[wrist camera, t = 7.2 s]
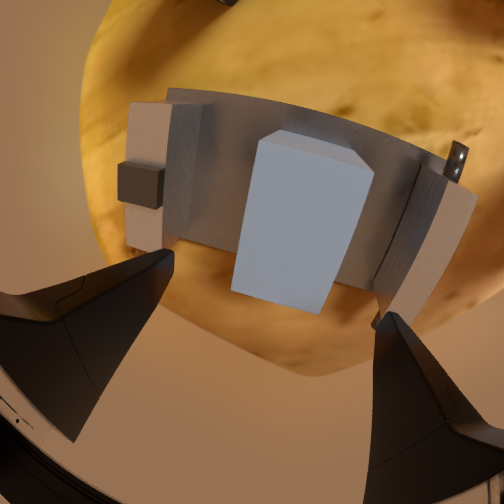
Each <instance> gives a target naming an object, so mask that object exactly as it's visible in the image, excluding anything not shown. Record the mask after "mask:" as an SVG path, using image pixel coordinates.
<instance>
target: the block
mask: <svg viewBox="0 0 504 504" xmlns="http://www.w3.org/2000/svg"><path fill="white" fill-rule="evenodd" d="M373 176H374V172H373V171H372V170H371V169H370V167H369V166H368V165H367V164H366V163H365V162H364V161H363V160H362V159H361V158H360V157H359V156H358V154H357V153H356V152H355V151H354V150H351V149H348V148H345V147H342V146H339V145H335V144H332V143H329V142H325V141H322V140H318V139H315V138H311V137H307V136H303V135H300V134H296V133H292V132H287V131H283V130H278V131H276V132H274V133H272V134H270V135H268V136H266V137H264V138H262V139H261V140H259V142H258V147H257V152H256V157H255V162H254V167H253V172H252V178H251V183H250V188H249V193H248V198H247V203H246V209H245V214H244V219H243V224H242V230H241V235H240V240H239V246H238V251H237V257H236V262H235V268H234V273H233V279H232V284H231V290H232V291H235V292H239V293H242V294H245V295H249V296H252V297H256V298H259V299H263V300H266V301H270V302H273V303H277V304H280V305H284V306H288V307H291V308H295V309H299V310H303V311H306V312H310V313H314V314H318V315H319V313H320V311H321V309H322V307H323V305H324V302H325V300H326V298H327V296H328V294H329V291H330V289H331V287H332V284H333V282H334V280H335V278H336V275H337V273H338V271H339V268H340V266H341V263H342V261H343V258H344V256H345V254H346V251H347V249H348V246H349V244H350V241H351V238H352V236H353V233H354V231H355V228H356V225H357V223H358V220H359V217H360V214H361V212H362V209H363V206H364V203H365V200H366V197H367V195H368V192H369V189H370V186H371V183H372V180H373Z"/></svg>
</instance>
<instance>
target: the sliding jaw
mask: <svg viewBox="0 0 504 504" xmlns="http://www.w3.org/2000/svg"><path fill="white" fill-rule="evenodd" d="M468 151H469V148H468V147H467V146H465V145H463V144H461V143H459V142H457V141H454V140H453V142H452V145H451V149H450V152H449V155H448V158H447V162H446V165H445V168H444V171H443V173H441V172H439V171H437V170H435V169H432V168H430V167H428V166H426V165H424V164H422V166H421V169H420V172H419V175H418V178H417V180H416V183H415V186H414V189H413V192H412V194H411V197H410V200H409V202H408V205H407V207H406V210H405V212H404V215H403V217H402V220H401V222H400V225H399V227H398V229H397V232H396V234H395V236H394V239H393V241H392V243H391V245H390V248H389V250H388V252H387V254H386V256H385V258H384V261H383V263H382V265H381V267H380V269H379V271H378V273H377V275H376V277H375V279H374V281H373V284H374V288H375V293H376V297H377V301H378V306H379V311H378V313H377V314H376V316H375V318H374V319H373V321H372V322H371V326H372V328H373V329H374V330H376V328H377V326H378V324H379V323H380V321H381V320H382V318H383V316H384V315H385V313H386V312H387V311H392V312H396V313H398V314H399V315H400V316H401V318H402V319H403V320H404V321H405V322H406V323H407V325H408V326H410V325H411V324H412V322H413V321H414V320H415V318H416V317H417V315H418V314H419V312H420V311H421V309H422V308H423V306H424V304H425V303H426V301H427V300H428V298H429V296H430V295H431V293H432V292H433V290H434V288H435V287H436V285H437V283H438V281H439V280H440V278H441V276H442V274H443V273H444V271H445V269H446V267H447V265H448V264H449V262H450V260H451V258H452V256H453V254H454V252H455V250H456V248H457V246H458V244H459V242H460V240H461V238H462V236H463V234H464V231H465V229H466V227H467V225H468V222H469V220H470V218H471V215H472V213H473V211H474V208H475V206H476V203H477V201H478V198H479V196H478V195H476V194H475V193H473V192H472V191H471V190H469V189H468V188H466V187H465V186H463V185H462V184H460V183H459V179H460V177H461V174H462V171H463V168H464V164H465V161H466V158H467V155H468Z"/></svg>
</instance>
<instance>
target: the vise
mask: <svg viewBox="0 0 504 504" xmlns="http://www.w3.org/2000/svg"><path fill="white" fill-rule="evenodd" d="M278 130H283V131H287V132H292V133H296V134H300V135H303V136H307V137H311V138H315V139H318V140H322V141H325V142H329V143H332V144H335V145H339V146H342V147H345V148H348V149H351V150H354V151H355V152H356V153H357V154H358V156H359V157H360V158H361V159H362V160H363V161H364V162H365V163H366V164H367V165H368V166H369V167H370V169H371V170H372V171H373V172H374V176H373V180H372V183H371V186H370V189H369V192H368V195H367V197H366V200H365V203H364V206H363V209H362V212H361V214H360V217H359V220H358V223H357V225H356V228H355V231H354V233H353V236H352V238H351V241H350V244H349V246H348V249H347V251H346V254H345V256H344V258H343V261H342V263H341V266H340V268H339V271H338V273H337V275H336V278H335V280H334V281H336V282H339V283H343V284H346V285H350V286H354V287H357V288H361V289H364V290H368V291H372V292H375V288H374V284H373V281H374V279H375V277H376V275H377V273H378V271H379V269H380V267H381V265H382V263H383V261H384V258H385V256H386V254H387V252H388V250H389V248H390V245H391V243H392V241H393V239H394V236H395V234H396V232H397V229H398V227H399V225H400V222H401V220H402V217H403V215H404V212H405V210H406V207H407V205H408V202H409V200H410V197H411V194H412V192H413V189H414V186H415V183H416V180H417V178H418V175H419V172H420V169H421V166H422V164H424V165H426V166H428V167H430V168H432V169H435V170H437V171H439V172H441V173H443V171H444V168H445V165H446V162H447V161H446V160H445V159H443V158H441V157H439V156H436V155H434V154H432V153H430V152H428V151H426V150H424V149H422V148H419V147H417V146H415V145H413V144H410V143H408V142H406V141H403V140H401V139H399V138H396V137H394V136H391V135H389V134H386V133H383V132H381V131H378V130H375V129H373V128H370V127H367V126H364V125H361V124H358V123H355V122H352V121H349V120H346V119H343V118H340V117H336V116H333V115H329V114H326V113H322V112H319V111H315V110H311V109H307V108H303V107H299V106H295V105H291V104H286V103H282V102H277V101H272V100H267V99H262V98H256V97H250V96H244V95H237V94H230V93H223V92H215V91H205V90H194V89H181V88H168V93H167V99H166V101H141V102H130V105H129V115H128V126H127V140H126V159H125V162H122V163H119V164H118V200H119V201H123V202H125V223H126V243H127V245H128V246H131V247H134V248H137V249H140V250H143V251H146V252H149V253H150V252H153V251H156V250H159V249H162V248H166V249H169V248H170V247H171V246H172V245H173V244H174V243H175V242H176V241H177V240H178V239H179V238H184V239H187V240H190V241H194V242H197V243H201V244H204V245H208V246H211V247H215V248H218V249H222V250H225V251H229V252H232V253H236V254H237V251H238V246H239V240H240V235H241V230H242V224H243V219H244V214H245V209H246V203H247V198H248V193H249V188H250V183H251V178H252V172H253V167H254V162H255V157H256V152H257V147H258V142H259V140H261V139H262V138H264V137H266V136H268V135H270V134H272V133H274V132H276V131H278Z"/></svg>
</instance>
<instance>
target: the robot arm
mask: <svg viewBox="0 0 504 504" xmlns="http://www.w3.org/2000/svg"><path fill="white" fill-rule="evenodd" d="M174 257H175V254H174V251H172V250H169V249H166V248H162V249H159V250H156V251H153V252H150V253H147V254H144V255H141V256H138V257H135V258H132V259H129V260H126V261H123V262H121V263H118V264H115V265H112V266H109V267H106V268H104V269H101V270H98V271H95V272H92V273H89V274H87V275H86V276H85V275H84V276H81V277H78V278H75V279H73V280H70V281H67V282H64V283H60V284H57V285H54V286H51V287H47V288H43V289H40V290H36V291H33V292H30V293H26V294H22V295H10V294H6V293H3V292H0V494H1V495H2V496H3V497H4V498H5V499H6V500H7V501H8V502H9V503H10V504H126V503H124V502H122V501H120V500H118V499H116V498H114V497H113V496H111V495H109V494H107V493H105V492H104V491H102V490H100V489H98V488H97V487H95V486H93V485H92V484H90V483H88V482H87V481H85V480H84V479H82V478H80V477H79V476H77V475H76V474H74V473H73V472H71V471H70V470H69V469H67V468H66V467H64V466H63V465H61V464H60V463H59V462H57V461H56V460H54V459H53V458H52V457H51V456H50V455H48V454H47V453H46V452H45V451H43V450H42V449H41V446H42V445H43V443H44V441H45V440H46V438H47V436H48V435H49V433H50V432H51V430H52V429H54V430H56V431H57V432H58V433H60V434H61V435H63V436H64V437H65V438H67V439H68V440H69V441H71V442H72V443H74V442H75V441H76V439H77V437H78V435H79V434H80V432H81V430H82V428H83V426H84V424H85V423H86V421H87V419H88V417H89V416H90V414H91V412H92V410H93V409H94V407H95V405H96V403H97V402H98V400H99V398H100V396H101V394H102V393H103V391H104V389H105V388H106V386H107V384H108V383H109V381H110V379H111V378H112V376H113V374H114V373H115V371H116V369H117V368H118V366H119V365H120V363H121V361H122V360H123V358H124V356H125V355H126V353H127V352H128V350H129V348H130V347H131V345H132V344H133V342H134V341H135V339H136V338H137V336H138V334H139V333H140V331H141V330H142V328H143V327H144V325H145V324H146V322H147V321H148V319H149V318H150V316H151V314H152V313H153V311H154V310H155V308H156V306H157V305H158V303H159V301H160V299H161V297H162V295H163V293H164V291H165V289H166V287H167V285H168V283H169V281H170V279H171V278H172V276H173V273H174ZM372 412H373V413H372V431H371V445H370V456H369V465H368V470H369V471H368V473H367V480H366V487H365V494H364V500H363V504H504V429H499V428H495V427H493V426H491V425H489V424H488V423H487V422H486V421H485V420H484V419H483V418H482V416H481V415H480V414H479V413H478V412H477V410H476V409H475V408H474V407H473V406H472V404H471V403H470V402H469V401H468V400H467V398H466V397H465V396H464V395H463V393H462V392H461V391H460V390H459V388H458V387H457V386H456V385H455V383H454V382H453V381H452V379H451V378H450V377H449V376H448V374H447V373H446V372H445V370H444V369H443V368H442V366H441V365H440V364H439V362H438V361H437V360H436V359H435V357H434V356H433V355H432V354H431V352H430V351H429V350H428V349H427V348H426V346H425V345H424V344H423V343H422V341H421V340H420V339H419V338H418V336H417V335H416V334H415V333H414V332H413V330H412V329H411V328H410V327H409V326H408V325H407V323H406V322H405V321H404V320H403V319H402V318H401V316H400V315H399V314H398V313H396V312H392V311H387V312H386V313H385V315H384V316H383V318H382V320H381V321H380V323H379V324H378V326H377V328H376V332H375V347H374V359H373V410H372Z"/></svg>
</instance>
